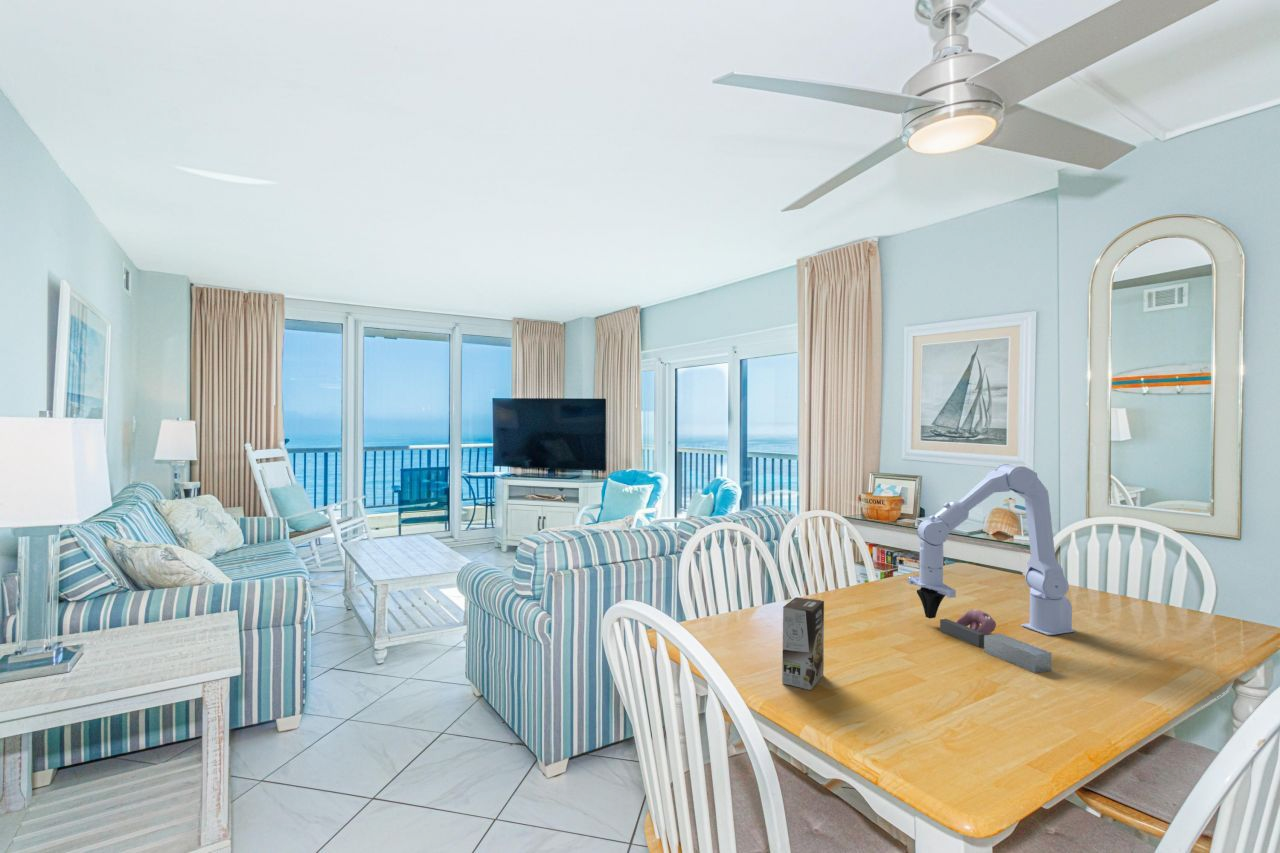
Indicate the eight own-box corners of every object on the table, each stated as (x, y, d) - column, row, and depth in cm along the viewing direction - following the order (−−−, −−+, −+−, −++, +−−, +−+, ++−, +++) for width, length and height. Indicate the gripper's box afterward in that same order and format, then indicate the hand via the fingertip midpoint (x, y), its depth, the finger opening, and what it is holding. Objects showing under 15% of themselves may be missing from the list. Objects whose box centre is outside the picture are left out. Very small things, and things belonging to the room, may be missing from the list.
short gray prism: (946, 630, 162) (946, 618, 162) (985, 646, 151) (985, 633, 151) (940, 631, 162) (940, 619, 162) (978, 647, 150) (978, 634, 150)
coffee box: (812, 691, 126) (812, 611, 126) (781, 683, 129) (781, 606, 129) (824, 675, 134) (825, 600, 133) (795, 669, 137) (795, 595, 137)
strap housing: (999, 649, 149) (999, 633, 149) (1051, 670, 137) (1051, 652, 137) (984, 651, 147) (984, 635, 147) (1034, 673, 135) (1035, 655, 135)
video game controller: (990, 646, 155) (1002, 621, 155) (974, 638, 155) (986, 613, 155) (967, 633, 165) (979, 609, 165) (952, 625, 165) (964, 601, 165)
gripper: (899, 561, 171) (898, 610, 172) (940, 573, 158) (939, 627, 158) (920, 559, 174) (919, 608, 174) (962, 571, 160) (961, 624, 160)
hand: (930, 617), depth 166 cm, fingers closed
